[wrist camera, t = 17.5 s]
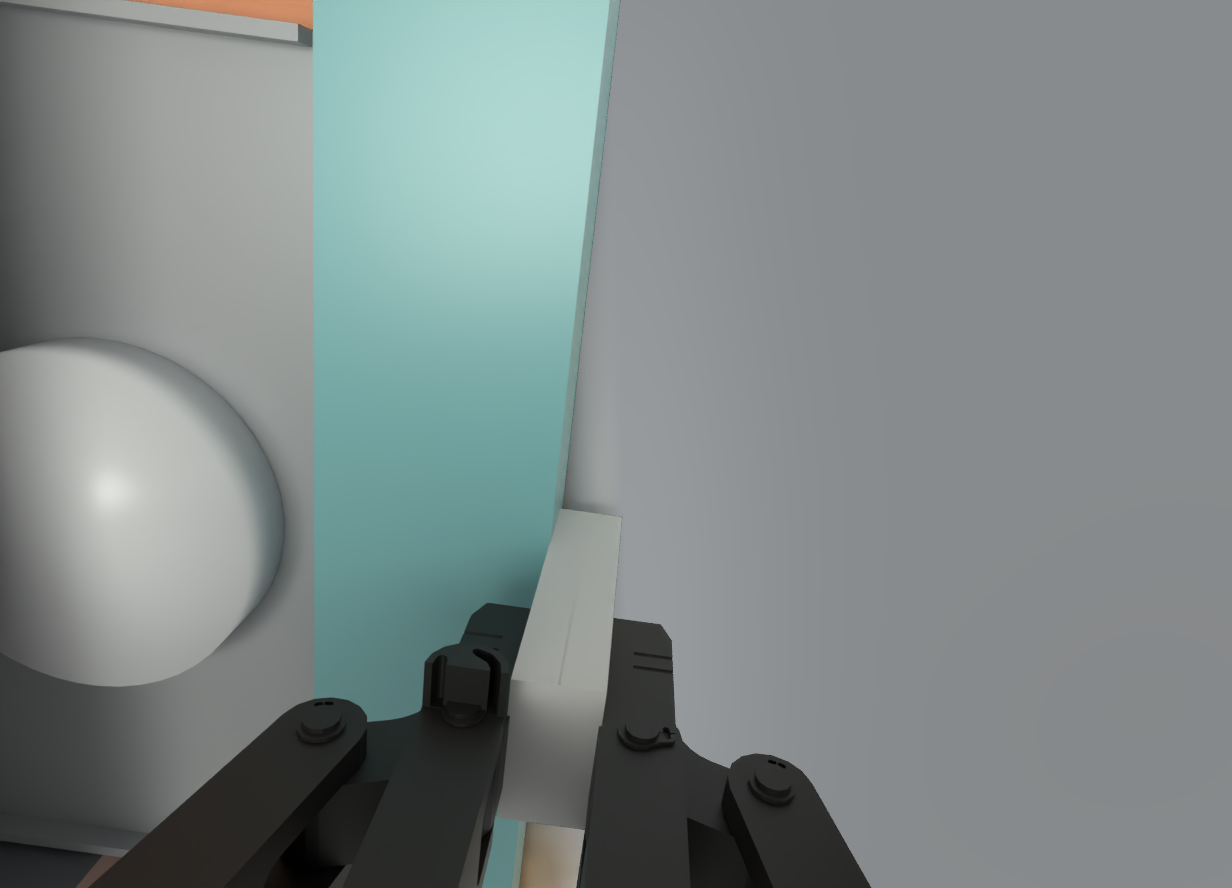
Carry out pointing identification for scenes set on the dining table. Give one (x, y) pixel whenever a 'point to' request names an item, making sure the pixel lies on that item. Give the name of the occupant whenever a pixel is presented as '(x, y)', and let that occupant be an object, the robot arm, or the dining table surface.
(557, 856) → the dining table surface
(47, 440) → the disc
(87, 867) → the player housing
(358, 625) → the tray
